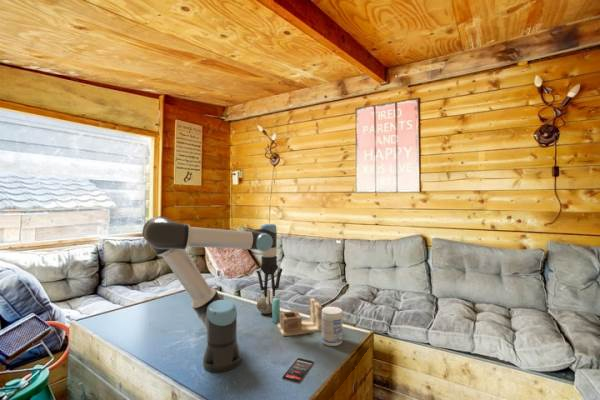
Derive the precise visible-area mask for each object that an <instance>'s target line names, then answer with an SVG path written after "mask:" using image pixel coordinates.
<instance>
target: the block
mask: <svg viewBox="0 0 600 400" xmlns="http://www.w3.org/2000/svg"><path fill="white" fill-rule="evenodd" d="M302 320H303V319H302V315H300V314H299V312H298V311H297V310H291V311H284V312H283V311H282V312H280V322H279V323H280V326H281V328H282V329H283V331H284V332H288V331H295V330H302Z"/></svg>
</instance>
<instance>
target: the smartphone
mask: <svg viewBox="0 0 600 400" xmlns="http://www.w3.org/2000/svg"><path fill="white" fill-rule="evenodd" d="M314 364H315V361H313V360H309V359H305V358H300V357H298V358H296V360H295V361H294V362H293V363H292V365H291V366H290V367H289V368H288V370H286V372H285V373H284V374H283V376H282V377H281V379H282V380H284V381H288V382H291V383H294V384H300V383H301V382H303V380H304V378H305V377H306V376H307V374H308V373H309V371H310V369H311V368H312V367H313V365H314Z"/></svg>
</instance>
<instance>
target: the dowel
mask: <svg viewBox="0 0 600 400" xmlns="http://www.w3.org/2000/svg"><path fill="white" fill-rule="evenodd" d="M280 303H281V299H280V298H279V297H275V298H274V297H273V304H272V312H271V317H272V319H271V320H272V323H273V324H277V323H280V313H281V306H280V305H281V304H280Z"/></svg>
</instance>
